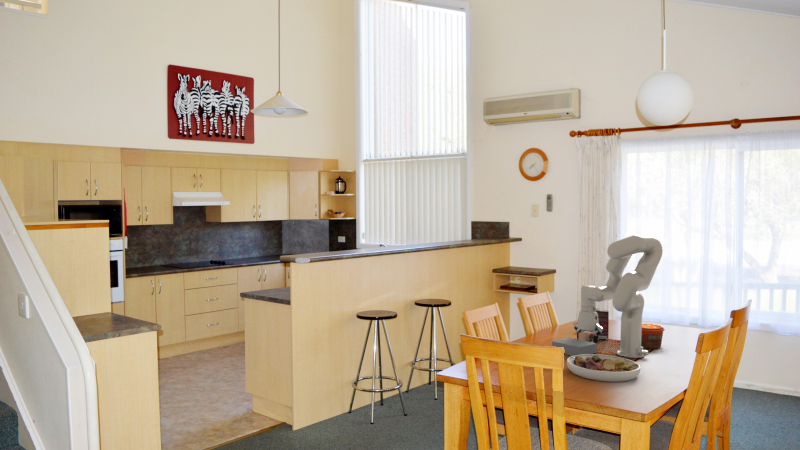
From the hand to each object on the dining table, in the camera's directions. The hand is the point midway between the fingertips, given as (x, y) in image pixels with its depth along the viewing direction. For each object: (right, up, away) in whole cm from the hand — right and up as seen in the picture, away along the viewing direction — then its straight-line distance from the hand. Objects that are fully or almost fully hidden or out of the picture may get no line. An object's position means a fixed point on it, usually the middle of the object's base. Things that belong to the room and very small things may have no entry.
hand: (587, 341), depth 303 cm
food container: (+32, -3, +2) cm, 32 cm away
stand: (-11, -3, -14) cm, 19 cm away
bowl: (-10, -4, -52) cm, 53 cm away
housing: (0, -2, 0) cm, 2 cm away
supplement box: (+12, -2, +18) cm, 22 cm away
